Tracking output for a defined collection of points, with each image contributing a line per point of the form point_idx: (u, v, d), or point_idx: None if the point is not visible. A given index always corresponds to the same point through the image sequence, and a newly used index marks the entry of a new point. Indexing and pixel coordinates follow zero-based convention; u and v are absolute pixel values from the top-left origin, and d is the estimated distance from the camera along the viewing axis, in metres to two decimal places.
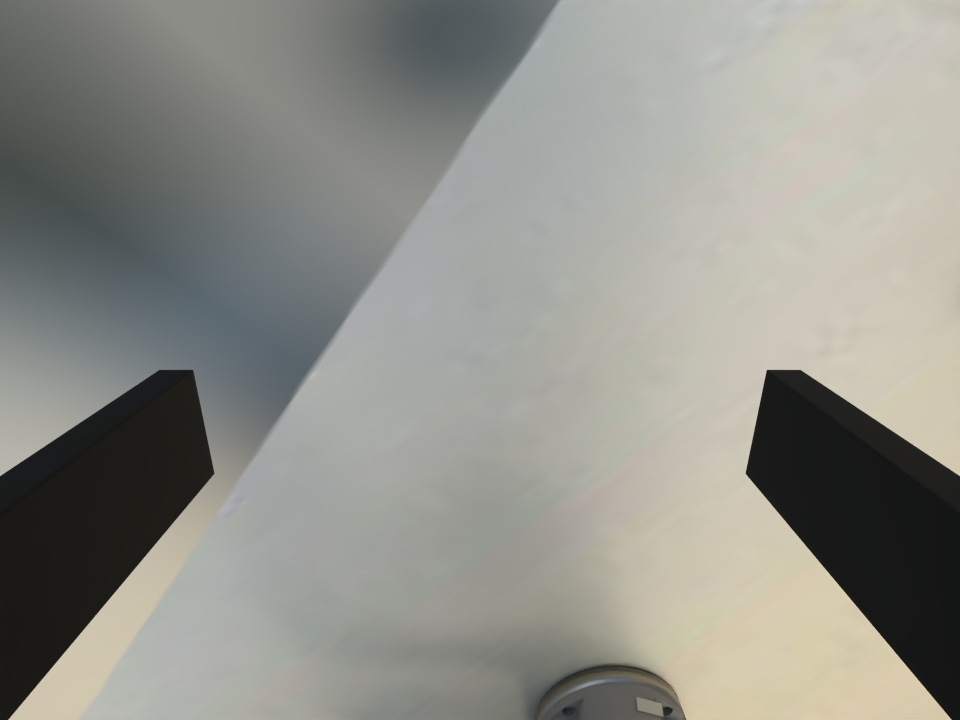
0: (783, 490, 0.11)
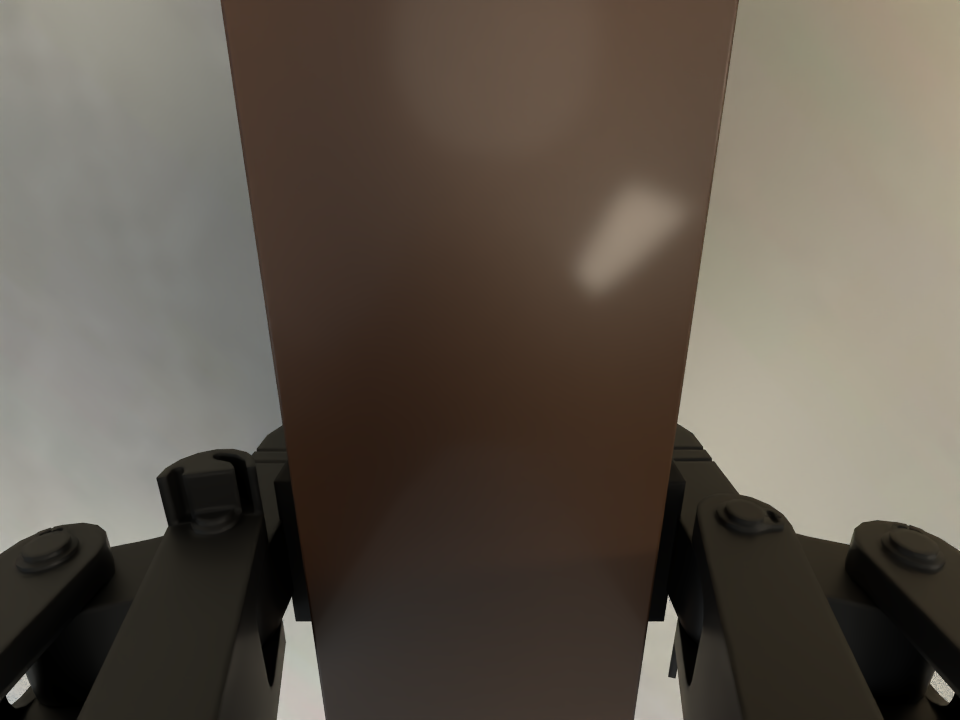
0: None
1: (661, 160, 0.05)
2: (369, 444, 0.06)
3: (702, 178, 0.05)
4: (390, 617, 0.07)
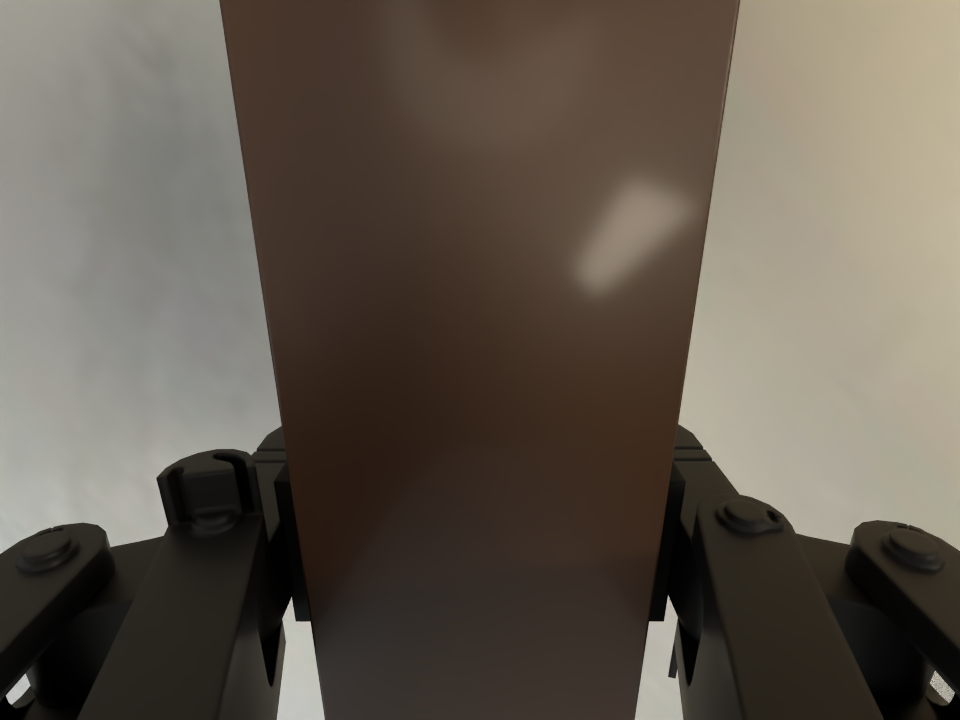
0: None
1: (662, 159, 0.05)
2: (368, 444, 0.06)
3: (704, 177, 0.05)
4: (390, 618, 0.07)
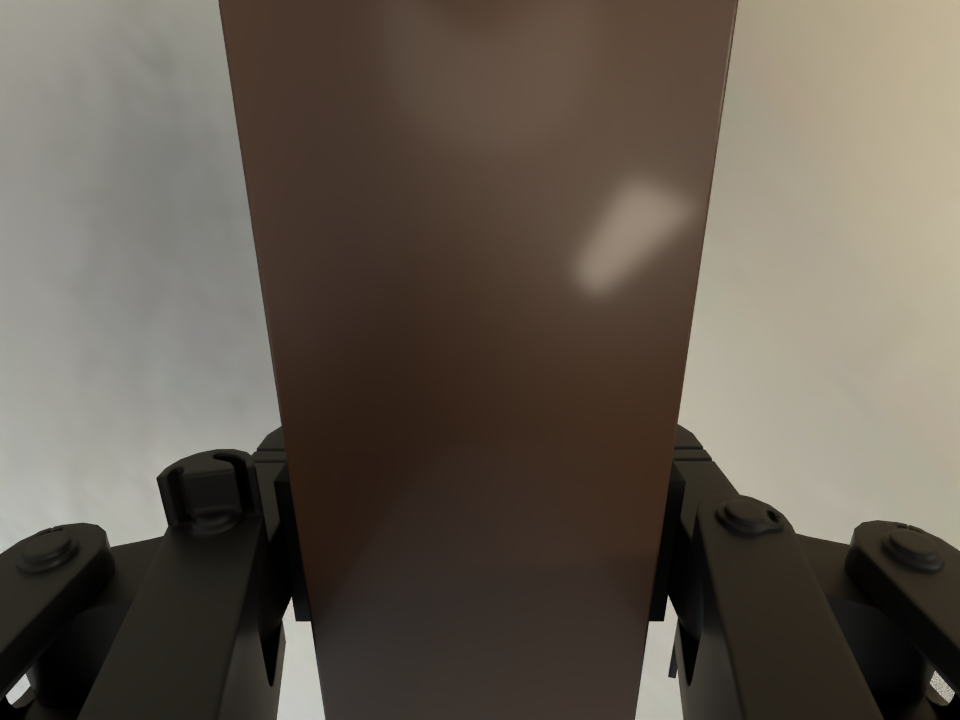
0: None
1: (661, 159, 0.05)
2: (367, 444, 0.06)
3: (701, 178, 0.05)
4: (390, 618, 0.07)
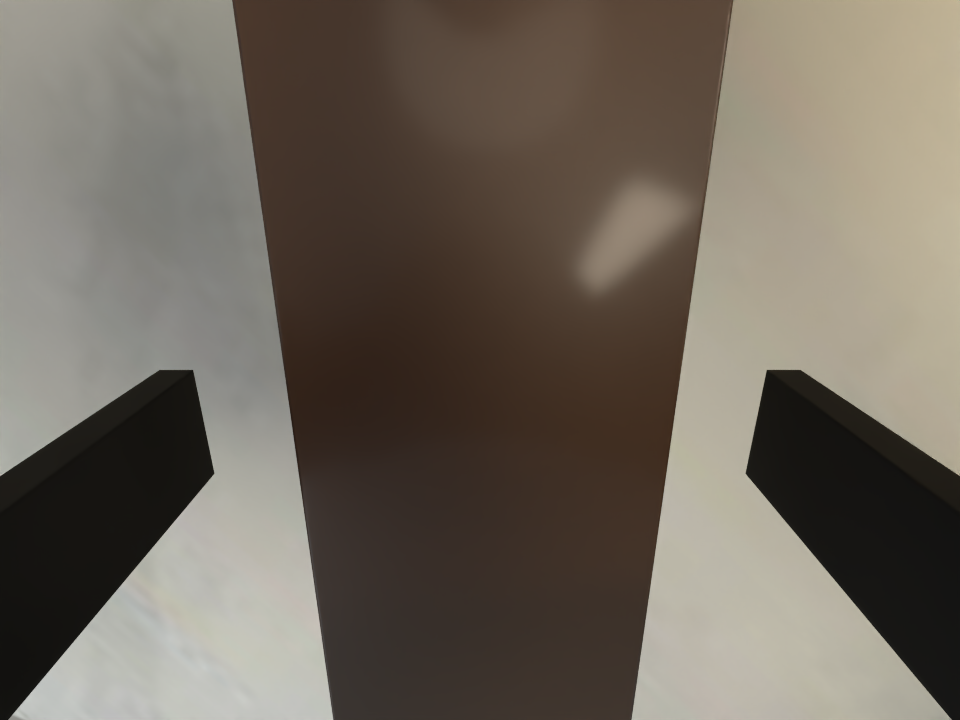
0: (783, 490, 0.11)
1: (658, 158, 0.05)
2: (374, 434, 0.06)
3: (699, 175, 0.05)
4: (395, 605, 0.07)
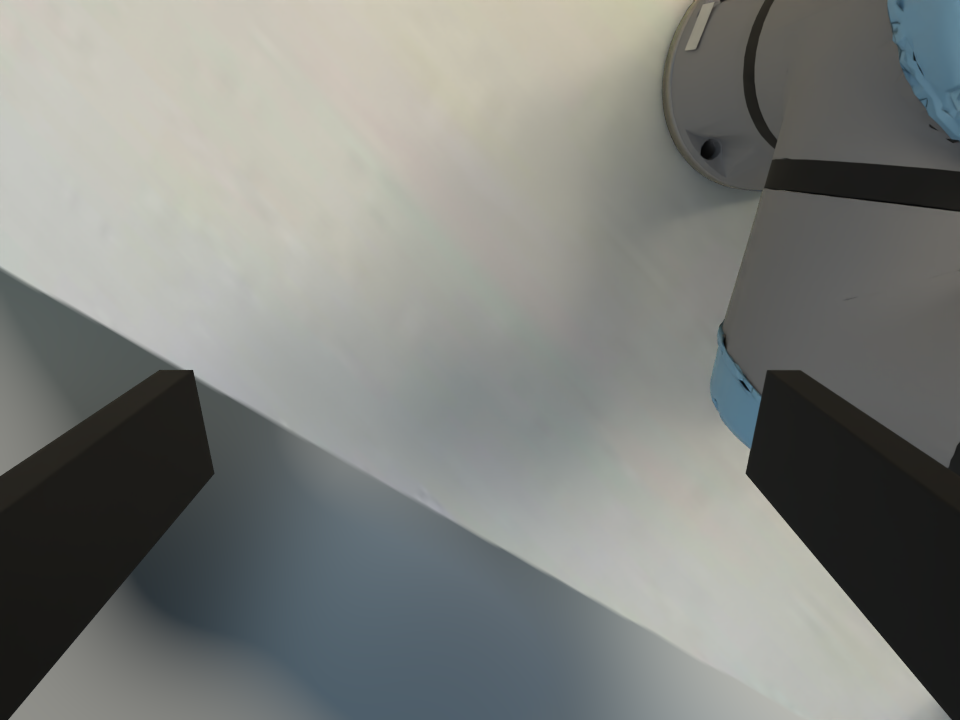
0: (783, 490, 0.11)
1: None
2: None
3: None
4: None
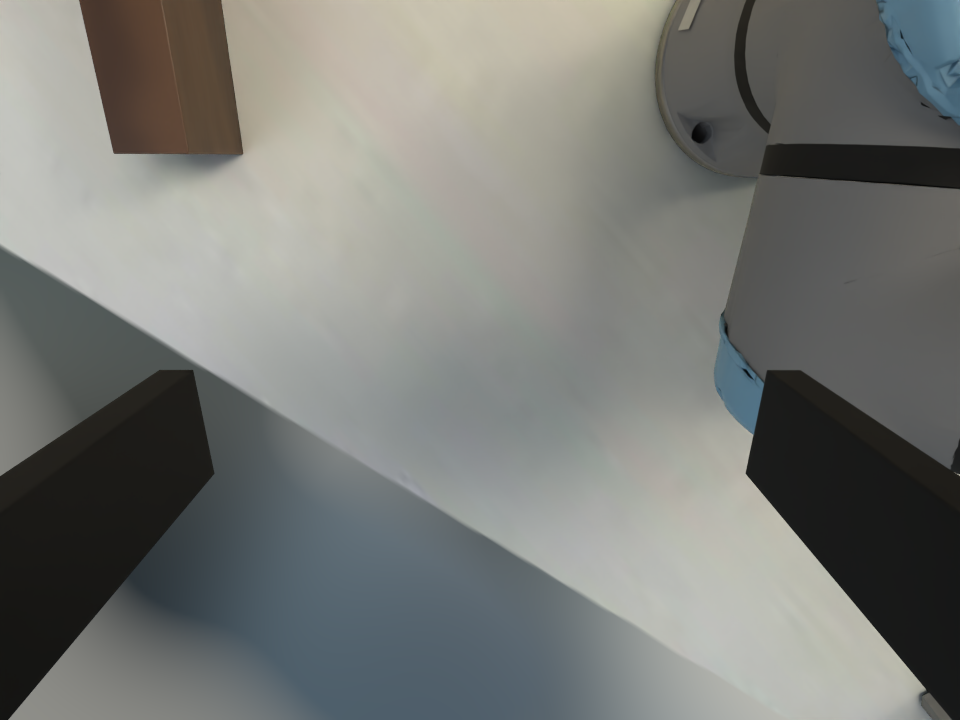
0: (783, 490, 0.11)
1: None
2: (102, 25, 0.30)
3: None
4: (115, 78, 0.31)
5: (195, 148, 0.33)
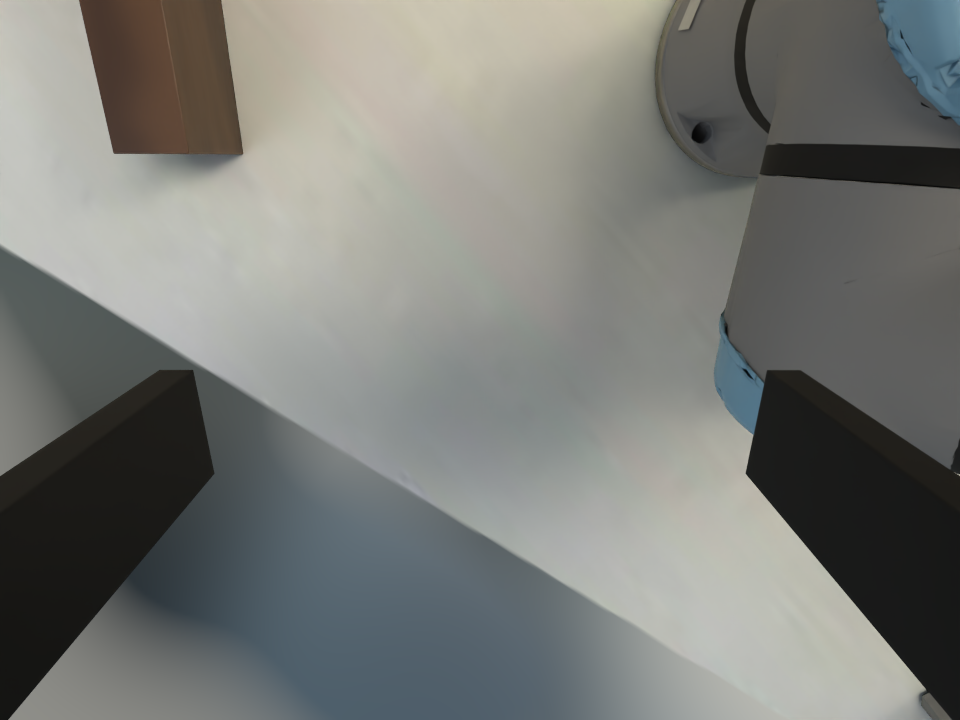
0: (783, 490, 0.11)
1: None
2: (102, 25, 0.30)
3: None
4: (115, 78, 0.31)
5: (195, 148, 0.33)
